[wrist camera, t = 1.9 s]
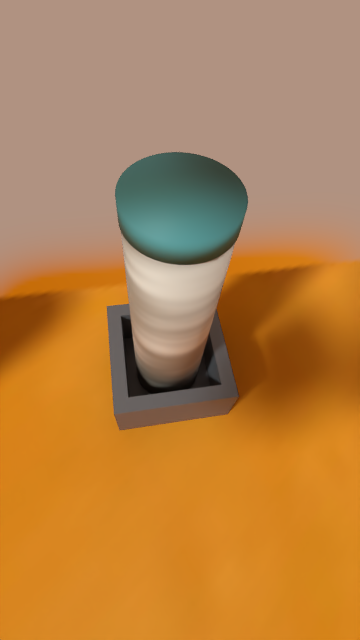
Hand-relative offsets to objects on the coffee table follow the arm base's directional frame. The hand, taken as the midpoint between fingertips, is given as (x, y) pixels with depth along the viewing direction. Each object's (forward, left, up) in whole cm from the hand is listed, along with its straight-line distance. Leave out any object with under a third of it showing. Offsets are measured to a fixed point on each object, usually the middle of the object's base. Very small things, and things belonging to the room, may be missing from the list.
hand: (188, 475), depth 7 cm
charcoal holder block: (+7, -4, -13) cm, 16 cm away
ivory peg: (+7, -4, -13) cm, 15 cm away
